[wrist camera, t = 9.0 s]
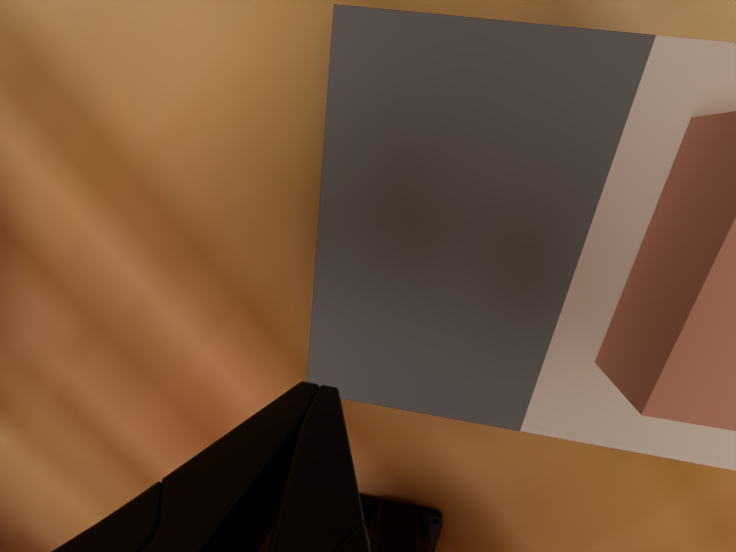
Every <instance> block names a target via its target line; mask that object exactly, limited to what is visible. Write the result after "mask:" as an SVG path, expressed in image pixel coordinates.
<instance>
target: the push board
mask: <svg viewBox="0 0 736 552" xmlns="http://www.w3.org/2000/svg"><path fill="white" fill-rule="evenodd" d="M733 111H736V43H731V42H721V41H711V40H700V39H690V38H680V37H669V36H659V35H649V34H638V33H628V32H617V31H607V30H597V29H586V28H576V27H566V26H555V25H545V24H534V23H524V22H514V21H503V20H493V19H483V18H472V17H462V16H451V15H441V14H431V13H420V12H410V11H400V10H389V9H379V8H369V7H358V6H348V5H337V4H334V8H333V22H332V36H331V50H330V64H329V78H328V93H327V107H326V121H325V135H324V149H323V163H322V177H321V191H320V205H319V219H318V233H317V247H316V261H315V275H314V289H313V303H312V317H311V331H310V345H309V359H308V373H307V382H310V383H316V384H318V385H319V387H320V386H321V385H327V386H332V387H337V388H338V390H339V394H340V398H342V399H347V400H353V401H358V402H364V403H369V404H375V405H380V406H385V407H391V408H396V409H402V410H407V411H413V412H418V413H424V414H429V415H435V416H440V417H446V418H451V419H457V420H462V421H468V422H473V423H478V424H484V425H489V426H495V427H500V428H506V429H511V430H517V431H522V432H528V433H533V434H539V435H544V436H550V437H555V438H561V439H566V440H571V441H577V442H582V443H588V444H593V445H599V446H604V447H610V448H615V449H621V450H626V451H632V452H637V453H643V454H648V455H654V456H659V457H665V458H670V459H675V460H681V461H686V462H692V463H697V464H703V465H708V466H714V467H719V468H725V469H730V470H736V431H732V430H726V429H720V428H714V427H708V426H702V425H696V424H690V423H684V422H678V421H672V420H667V419H661V418H655V417H649V416H643V415H641V414H640V413H639V412H638V411H637V410H636V409H635V408H634V407H633V405H632V404H631V403H630V402H629V401H628V400H627V399H626V397H625V396H624V395H623V394H622V393H621V392H620V391H619V390H618V388H617V387H616V386H615V385H614V384H613V383H612V382H611V380H610V379H609V378H608V377H607V376H606V375H605V374H604V373H603V371H602V370H601V369H600V368H599V367H598V366H597V365H596V364H595V360H596V357H597V355H598V352H599V350H600V347H601V345H602V342H603V340H604V337H605V335H606V332H607V330H608V327H609V325H610V322H611V319H612V317H613V314H614V312H615V309H616V307H617V304H618V302H619V299H620V297H621V294H622V292H623V289H624V287H625V284H626V281H627V279H628V276H629V274H630V271H631V269H632V266H633V264H634V261H635V259H636V256H637V254H638V251H639V248H640V246H641V243H642V241H643V238H644V236H645V233H646V231H647V228H648V226H649V223H650V221H651V218H652V216H653V213H654V210H655V208H656V205H657V203H658V200H659V198H660V195H661V193H662V190H663V188H664V185H665V183H666V180H667V178H668V175H669V172H670V170H671V167H672V165H673V162H674V160H675V157H676V155H677V152H678V150H679V147H680V145H681V142H682V139H683V137H684V134H685V132H686V129H687V127H688V124H689V122H690V119H691V117H697V116H704V115H712V114H719V113H726V112H733Z"/></svg>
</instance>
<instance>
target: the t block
mask: <svg viewBox="0 0 736 552" xmlns="http://www.w3.org/2000/svg"><path fill="white" fill-rule="evenodd" d="M595 364H596V365H597V366H598V367H599V368H600V369H601V370H602V371H603V373H604V374H605V375H606V376H607V377H608V378H609V379H610V380H611V382H612V383H613V384H614V385H615V386H616V387H617V388H618V390H619V391H620V392H621V393H622V394H623V395H624V396H625V397H626V399H627V400H628V401H629V402H630V403H631V404H632V405H633V407H634V408H635V409H636V410H637V411H638V412H639V413H640V414H641V415H643V416H649V417H655V418H661V419H667V420H672V421H678V422H684V423H690V424H696V425H702V426H708V427H714V428H720V429H726V430H732V431H736V111H733V112H726V113H719V114H712V115H704V116H697V117H691V119H690V122H689V124H688V127H687V129H686V132H685V134H684V137H683V139H682V142H681V145H680V147H679V150H678V152H677V155H676V157H675V160H674V162H673V165H672V167H671V170H670V172H669V175H668V178H667V180H666V183H665V185H664V188H663V190H662V193H661V195H660V198H659V200H658V203H657V205H656V208H655V210H654V213H653V216H652V218H651V221H650V223H649V226H648V228H647V231H646V233H645V236H644V238H643V241H642V243H641V246H640V248H639V251H638V254H637V256H636V259H635V261H634V264H633V266H632V269H631V271H630V274H629V276H628V279H627V281H626V284H625V287H624V289H623V292H622V294H621V297H620V299H619V302H618V304H617V307H616V309H615V312H614V314H613V317H612V319H611V322H610V325H609V327H608V330H607V332H606V335H605V337H604V340H603V342H602V345H601V347H600V350H599V352H598V355H597V357H596V360H595Z"/></svg>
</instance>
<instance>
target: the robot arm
mask: <svg viewBox="0 0 736 552" xmlns="http://www.w3.org/2000/svg"><path fill="white" fill-rule="evenodd" d="M442 524H443V519H442V514H441V513H440V512H438V511H435V510H430V509H425V508H420V507H415V506H410V505H405V504H400V503H396V502H391V501H386V500H381V499H376V498H371V497H366V496H361V495H359V491H358V485H357V480H356V475H355V470H354V465H353V460H352V455H351V450H350V445H349V440H348V435H347V430H346V425H345V420H344V415H343V409H342V404H341V399H340V394H339V390H338V388H337V387H332V386H327V385H321V386H320V387H319V385H318V384H316V383H310V382H304V381H302V382H300V383H298V384H297V385H296V386H294V387H293V388H291V389H290V390H288V391H287V392H286V393H284V394H283V395H281V396H280V397H278V398H277V399H276V400H274V401H273V402H271V403H270V404H268V405H267V406H266V407H264V408H263V409H261V410H260V411H258V412H257V413H256V414H254V415H253V416H251V417H250V418H248V419H247V420H246V421H244V422H243V423H241V424H240V425H238V426H237V427H236V428H234V429H233V430H231V431H230V432H228V433H227V434H226V435H224V436H223V437H221V438H220V439H218V440H217V441H216V442H214V443H213V444H211V445H210V446H209V447H207V448H206V449H204V450H203V451H201V452H200V453H199V454H197V455H196V456H194V457H193V458H191V459H190V460H189V461H187V462H186V463H184V464H183V465H181V466H180V467H179V468H177V469H176V470H174V471H173V472H171V473H170V474H169V475H167V476H166V477H164V478H163V479H162V483H161V482H157V483H155V484H154V485H153V486H151V487H150V488H148V489H147V490H145V491H144V492H143V493H141V494H140V495H138V496H137V497H135V498H134V499H132V500H131V501H129V502H128V503H126V504H125V505H124V506H122V507H121V508H119V509H118V510H116V511H115V512H113V513H112V514H110V515H109V516H107V517H106V518H104V519H103V520H101V521H100V522H98V523H97V524H95V525H93V526H92V527H90V528H89V529H87V530H85V531H84V532H82V533H81V534H79V535H77V536H76V537H74V538H72V539H71V540H69V541H68V542H66V543H64V544H63V545H61V546H60V547H58V548H56V549H55V550H53V551H52V552H435V549H436V545H437V541H438V538H439V534H440V531H441V527H442Z"/></svg>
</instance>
